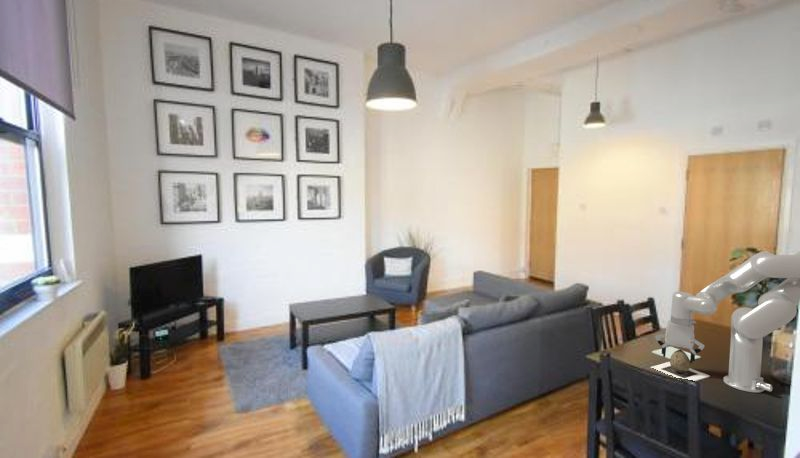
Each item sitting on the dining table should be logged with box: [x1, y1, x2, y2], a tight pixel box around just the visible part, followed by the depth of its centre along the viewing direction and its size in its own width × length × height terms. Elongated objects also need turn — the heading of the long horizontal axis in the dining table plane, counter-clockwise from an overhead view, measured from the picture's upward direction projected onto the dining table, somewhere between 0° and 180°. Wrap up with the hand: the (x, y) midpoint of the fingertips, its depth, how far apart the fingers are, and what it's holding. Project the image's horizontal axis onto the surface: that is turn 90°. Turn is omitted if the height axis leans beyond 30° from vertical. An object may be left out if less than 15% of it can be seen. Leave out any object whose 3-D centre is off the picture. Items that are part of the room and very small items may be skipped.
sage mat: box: [651, 345, 702, 361], centre depth 188 cm, size 14×14×1 cm
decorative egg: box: [669, 349, 691, 374], centre depth 170 cm, size 7×7×10 cm
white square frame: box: [650, 361, 711, 382], centre depth 170 cm, size 16×14×1 cm
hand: (677, 358), depth 170 cm, fingers open, 9 cm apart
